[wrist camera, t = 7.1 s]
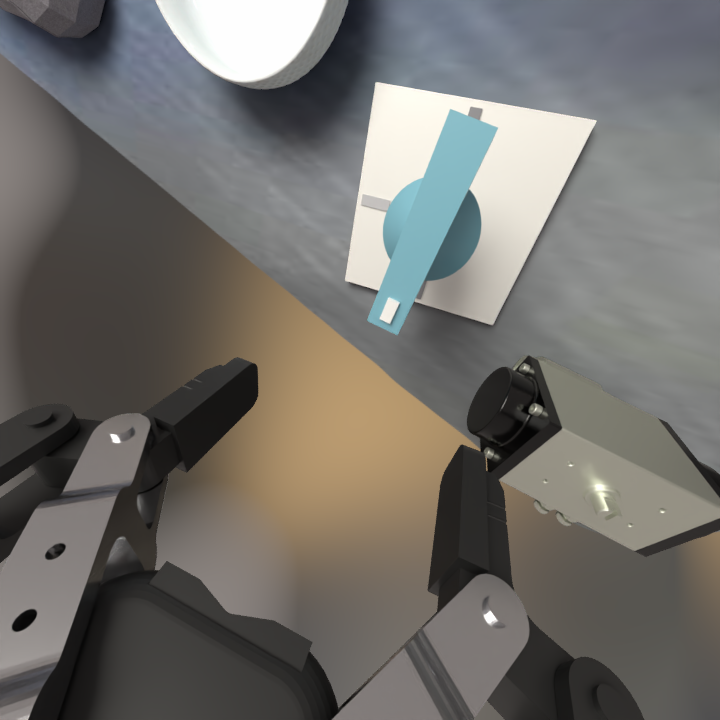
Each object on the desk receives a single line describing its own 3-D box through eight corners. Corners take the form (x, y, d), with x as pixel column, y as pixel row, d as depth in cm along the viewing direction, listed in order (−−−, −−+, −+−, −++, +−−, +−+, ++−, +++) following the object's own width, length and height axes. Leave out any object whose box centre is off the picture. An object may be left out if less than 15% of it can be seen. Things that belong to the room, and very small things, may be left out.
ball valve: (461, 371, 38) (454, 487, 23) (501, 318, 33) (523, 424, 18) (591, 436, 36) (667, 600, 22) (654, 391, 31) (804, 566, 17)
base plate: (591, 123, 23) (633, 102, 17) (492, 321, 33) (496, 352, 27) (379, 85, 26) (350, 56, 20) (348, 277, 36) (323, 296, 30)
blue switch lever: (427, 120, 20) (404, 89, 13) (522, 158, 19) (547, 145, 13) (370, 277, 27) (336, 308, 20) (438, 308, 27) (426, 351, 20)
